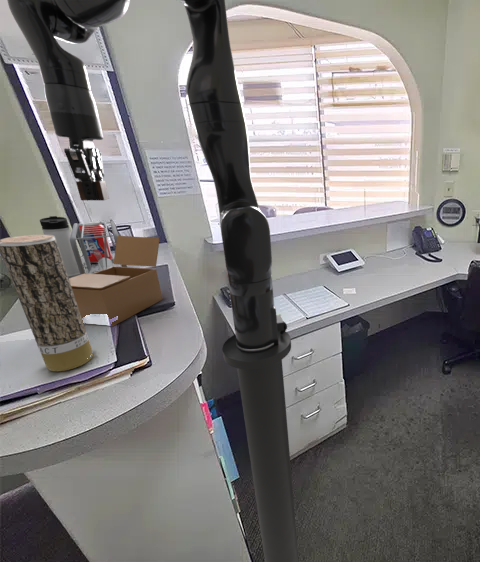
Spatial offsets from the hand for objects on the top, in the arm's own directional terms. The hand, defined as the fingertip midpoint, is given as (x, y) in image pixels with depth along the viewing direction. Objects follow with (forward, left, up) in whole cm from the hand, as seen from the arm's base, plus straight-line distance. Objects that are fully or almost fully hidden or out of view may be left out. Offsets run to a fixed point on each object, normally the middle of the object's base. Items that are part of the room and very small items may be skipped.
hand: (95, 198), depth 70 cm
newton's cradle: (+12, -32, -30) cm, 45 cm away
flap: (-2, -14, -16) cm, 21 cm away
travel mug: (+24, -41, -30) cm, 57 cm away
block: (0, 0, 0) cm, 0 cm away
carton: (+3, -5, -30) cm, 30 cm away
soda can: (+21, -59, -30) cm, 70 cm away
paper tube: (+5, +20, -30) cm, 36 cm away
